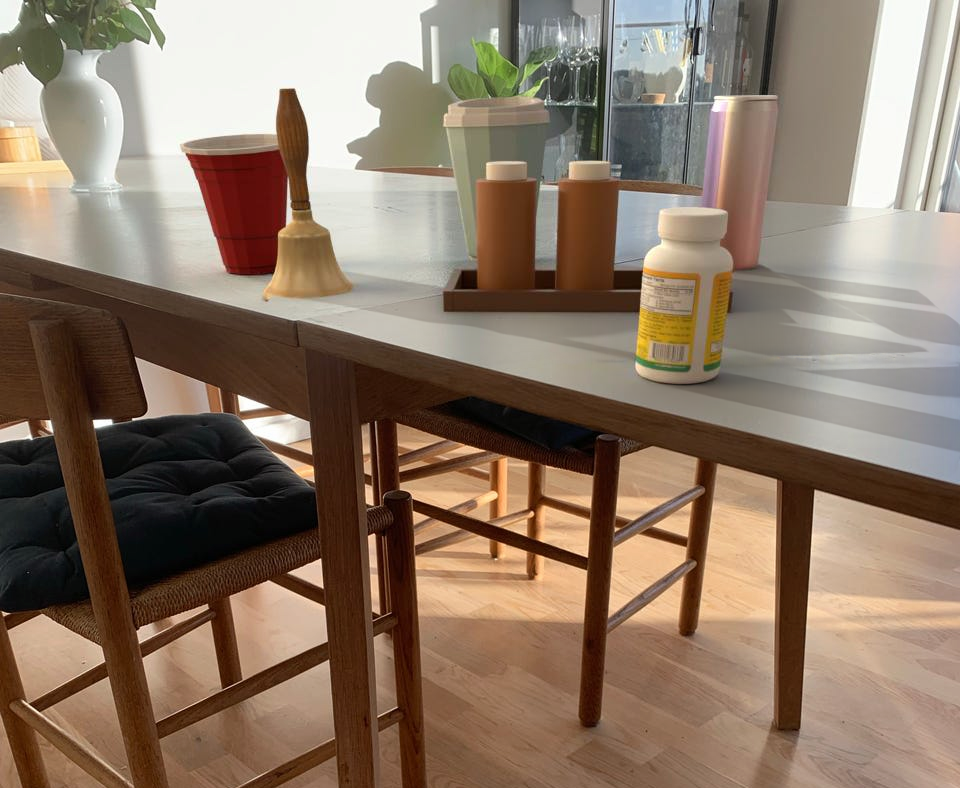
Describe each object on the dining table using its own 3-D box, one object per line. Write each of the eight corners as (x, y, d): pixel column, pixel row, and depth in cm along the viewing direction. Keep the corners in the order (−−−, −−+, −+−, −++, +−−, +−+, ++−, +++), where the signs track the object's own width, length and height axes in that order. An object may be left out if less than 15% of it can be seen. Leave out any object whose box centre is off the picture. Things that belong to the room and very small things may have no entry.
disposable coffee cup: (541, 270, 94) (545, 97, 87) (436, 268, 96) (431, 98, 88) (551, 253, 103) (555, 96, 96) (455, 252, 105) (451, 97, 97)
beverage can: (682, 271, 93) (699, 96, 86) (716, 264, 97) (735, 95, 89) (735, 278, 89) (757, 96, 82) (768, 270, 93) (792, 95, 85)
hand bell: (308, 308, 79) (287, 88, 71) (243, 297, 84) (216, 89, 75) (376, 293, 85) (363, 87, 77) (311, 283, 89) (293, 88, 81)
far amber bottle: (531, 292, 82) (533, 160, 76) (537, 303, 77) (540, 164, 72) (475, 293, 81) (474, 160, 76) (479, 304, 77) (478, 165, 72)
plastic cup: (176, 276, 93) (154, 139, 87) (235, 259, 102) (218, 133, 96) (273, 282, 90) (257, 140, 84) (325, 264, 99) (314, 134, 93)
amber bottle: (606, 292, 81) (614, 159, 76) (617, 303, 77) (626, 164, 72) (551, 293, 81) (555, 160, 76) (559, 304, 77) (563, 164, 72)
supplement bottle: (654, 388, 58) (669, 217, 53) (622, 366, 62) (632, 207, 57) (734, 381, 59) (756, 214, 54) (697, 360, 63) (714, 204, 58)
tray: (709, 294, 83) (712, 268, 82) (730, 320, 74) (733, 292, 73) (454, 293, 84) (453, 268, 83) (443, 318, 75) (442, 291, 74)
